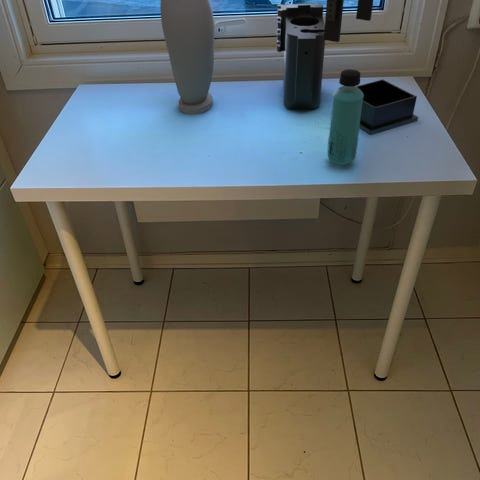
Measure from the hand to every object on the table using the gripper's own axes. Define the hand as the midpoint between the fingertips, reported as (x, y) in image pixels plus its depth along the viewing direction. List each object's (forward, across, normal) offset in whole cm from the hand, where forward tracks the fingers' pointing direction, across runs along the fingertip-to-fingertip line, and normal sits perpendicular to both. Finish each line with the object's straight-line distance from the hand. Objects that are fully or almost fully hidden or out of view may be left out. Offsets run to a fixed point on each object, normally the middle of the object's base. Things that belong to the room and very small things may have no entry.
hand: (348, 29), depth 95 cm
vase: (+29, -13, -48) cm, 57 cm away
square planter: (+29, -31, -3) cm, 42 cm away
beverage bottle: (+29, -4, 0) cm, 29 cm away
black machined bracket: (+29, -31, -26) cm, 49 cm away
